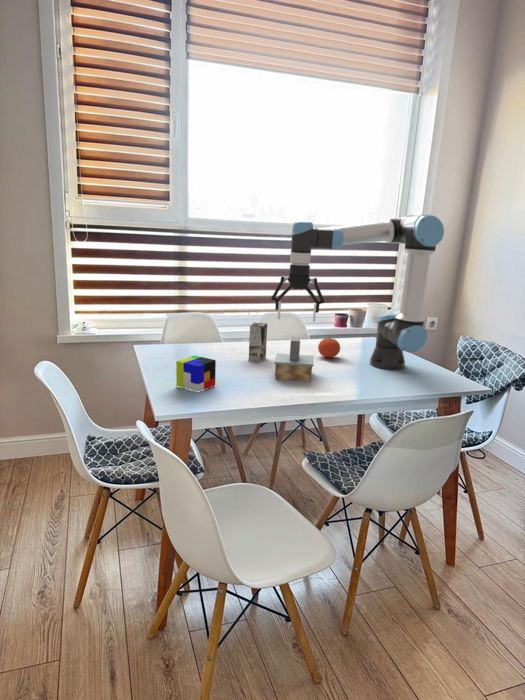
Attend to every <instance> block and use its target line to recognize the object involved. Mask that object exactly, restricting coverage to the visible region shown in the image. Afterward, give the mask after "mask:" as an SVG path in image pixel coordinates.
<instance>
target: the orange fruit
mask: <svg viewBox="0 0 525 700" xmlns="http://www.w3.org/2000/svg"><path fill="white" fill-rule="evenodd" d="M317 349H318V353H319V354H320V355H321V357H324V358H327V359H330V358H335V357H337V355H339V353H340V351H341V345H340V343H339V341H338V340H337V339H336V338H331V337H328V338H327V337H326V338H325V337H324V338H323V339H322V340H321V341H319V343H318V345H317Z"/></svg>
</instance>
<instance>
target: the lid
mask: <svg viewBox="0 0 525 700" xmlns="http://www.w3.org/2000/svg"><path fill="white" fill-rule="evenodd" d="M300 350H301V337H299V336H291V338H290V348H289V351H290V352H289V353H281V352H280V353H279V352H277V353H276V355H275V358H274V362H273V364H274V365H276V364H284V365H298V366H312V367H314V366H315V365H314V364H315V363H314V359H315V358H314V355H308V354H307V355H306V354H300Z"/></svg>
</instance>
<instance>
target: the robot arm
mask: <svg viewBox="0 0 525 700" xmlns="http://www.w3.org/2000/svg"><path fill="white" fill-rule="evenodd" d="M443 224H444V223H443V222H442V221H441V219H440V218H439V217H437V216H435V215H433V214H432V215H431V214H426V213H425V214H411V215H405V216H400V217H396V218H389V219H386V220H384V221H383V222H372V223H361V224H360V223H358V224H349V225H348V224H347V225H337V226H327V227H325V226H324V227H314V223H313V222H311V221H294V222H293V223H292V227H291V228H292V229H291V243H290V244H291V245H290V248H291V250H290V261H289V262H290V263H291V264H290V265H289V274H288V275H289V276H288V277H287V276H284V275H281V277H280V282H279V283H278V285H277V286H276V289H275V290H274V292H273V294H272V295H271V298H270V299H271V300H272V301H274V302H275V311H277V319H278V320H281V319H280V318H281V308H282V301H281V300H282V299H283V297H284V296H285V295H286V294H288V292H289V291H291V289H294V290H304V289H305V291H306V292H307V293H308V294H309V296H310V297H311V298H312V300H313V301H314V302H315V303H314V304H313V313H312V314H313V317H312V322H316V314H318V313H319V312H320V305H321V304H325V298H324V297H323V294H322V292H321V289H320V286H319V284H318V278H317V277H314V278H312V277H311V278H310V273H311V272H310V270H311V269H310V268H311V265H310V264H311V257H312V249H315V250H316V249H319V250H322V249H323V250H341V248H342V246H345V245H346V246H347V245H354V244H355V245H356V244H365V243H366V244H367V243H369V244H370V243H378V242H385V243H387V244H404V251H405V253H407V257H406V258H407V259H406V264H405V265H406V266H405V271H404V278H403V279H404V281H403V285H402V293H401V298H400V299H401V301H400V306H399V313H398V314H397V313H393V314H392V313H391V314H390V313H386V314H385V313H383V314H380V315H379V316H378V320H377V327H376V328H377V329H376V330H377V331H376V341H375V346H374V349H373V352H372V353H371V356H370V358H369V359H370V360H369V364H370V365H371V366H373V367H375V368H379V369H384V370H400V369H402V370H403V369H404V368H405V365H406V360H405V355H404V352H406V353H416V352H418V351H419V350H421V349H422V348H423V347H424V346H425V345H426V343H427V341H428V332H427V330H426V329H425V327H424V326H425V318H424V316H423V315H422V312H423V305H424V299H425V294H426V286H427V280H428V274H429V267H430V261H431V256H432V255H433V254H434V253H435V252H436V247H437V245H438V244H440V242H441V241H442V240H443V237H444V235H445V228H444V225H443ZM287 281H288V283H289V285H288V286H287V287H286V288H285V289H284V290H283V291H281V293H280V294H279V295H278V293H279V291H280V290H281V289H282V286H283V285H284V283H286V282H287ZM310 283H311V284H312V285H314V288H315V291H316V293H317V295H318V298H319V299H318V298H317V297H316V295H315V294H314V292H313V291H312V289H311V288H310V287H309V286H308V285H309V284H310ZM277 295H278V297H277Z"/></svg>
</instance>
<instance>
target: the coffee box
mask: <svg viewBox="0 0 525 700" xmlns="http://www.w3.org/2000/svg"><path fill="white" fill-rule="evenodd" d="M267 336H268V323H267V322H266V323H263V322H253V323H252V324H251V325H249V338H248V341H249V342H248V362H251V363H252V362H254V363H255V362H256V363H259V362H261V363H263V362H264V361H265V359H266V358H267V341H268V339H267V338H268V337H267Z"/></svg>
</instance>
